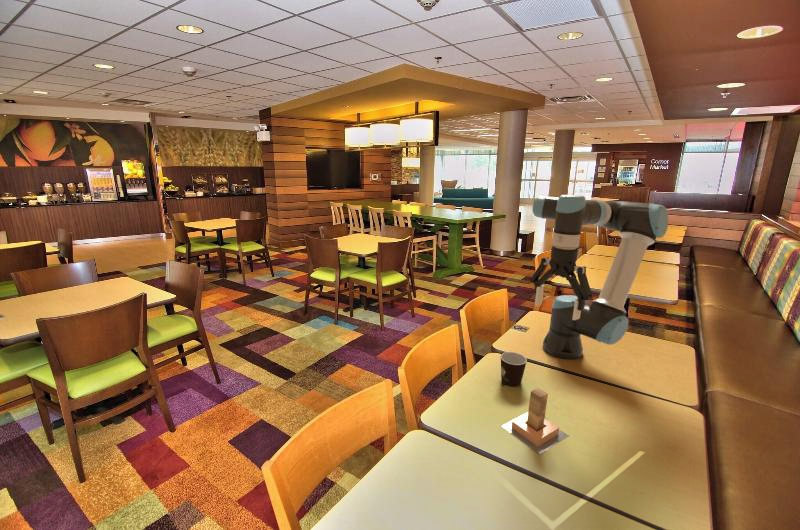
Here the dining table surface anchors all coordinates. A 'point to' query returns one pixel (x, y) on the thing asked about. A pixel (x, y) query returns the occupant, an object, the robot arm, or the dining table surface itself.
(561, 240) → the robot arm
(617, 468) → the dining table surface
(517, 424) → the orange square frame
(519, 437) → the plate
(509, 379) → the coffee mug
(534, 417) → the brown wooden block
